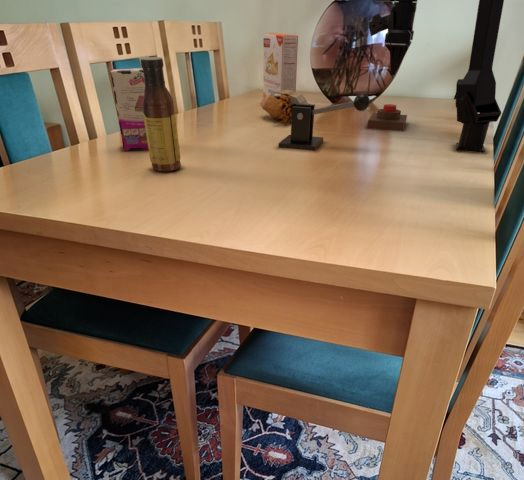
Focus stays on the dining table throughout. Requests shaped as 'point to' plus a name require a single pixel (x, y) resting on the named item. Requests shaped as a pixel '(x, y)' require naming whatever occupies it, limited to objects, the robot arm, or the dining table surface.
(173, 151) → the sauce bottle
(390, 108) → the button
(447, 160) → the dining table surface
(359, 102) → the lever
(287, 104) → the nautilus
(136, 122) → the candy bar box
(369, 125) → the button block
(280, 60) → the cracker box
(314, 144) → the bracket
